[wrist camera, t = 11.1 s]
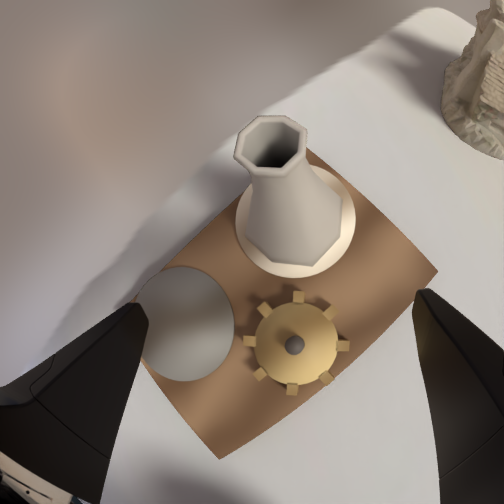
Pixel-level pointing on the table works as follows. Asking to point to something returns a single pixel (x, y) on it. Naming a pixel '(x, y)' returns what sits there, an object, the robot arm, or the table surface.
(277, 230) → the flask
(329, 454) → the table surface
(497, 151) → the ceramic cottage
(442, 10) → the table surface
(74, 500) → the watch
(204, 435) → the gear board
